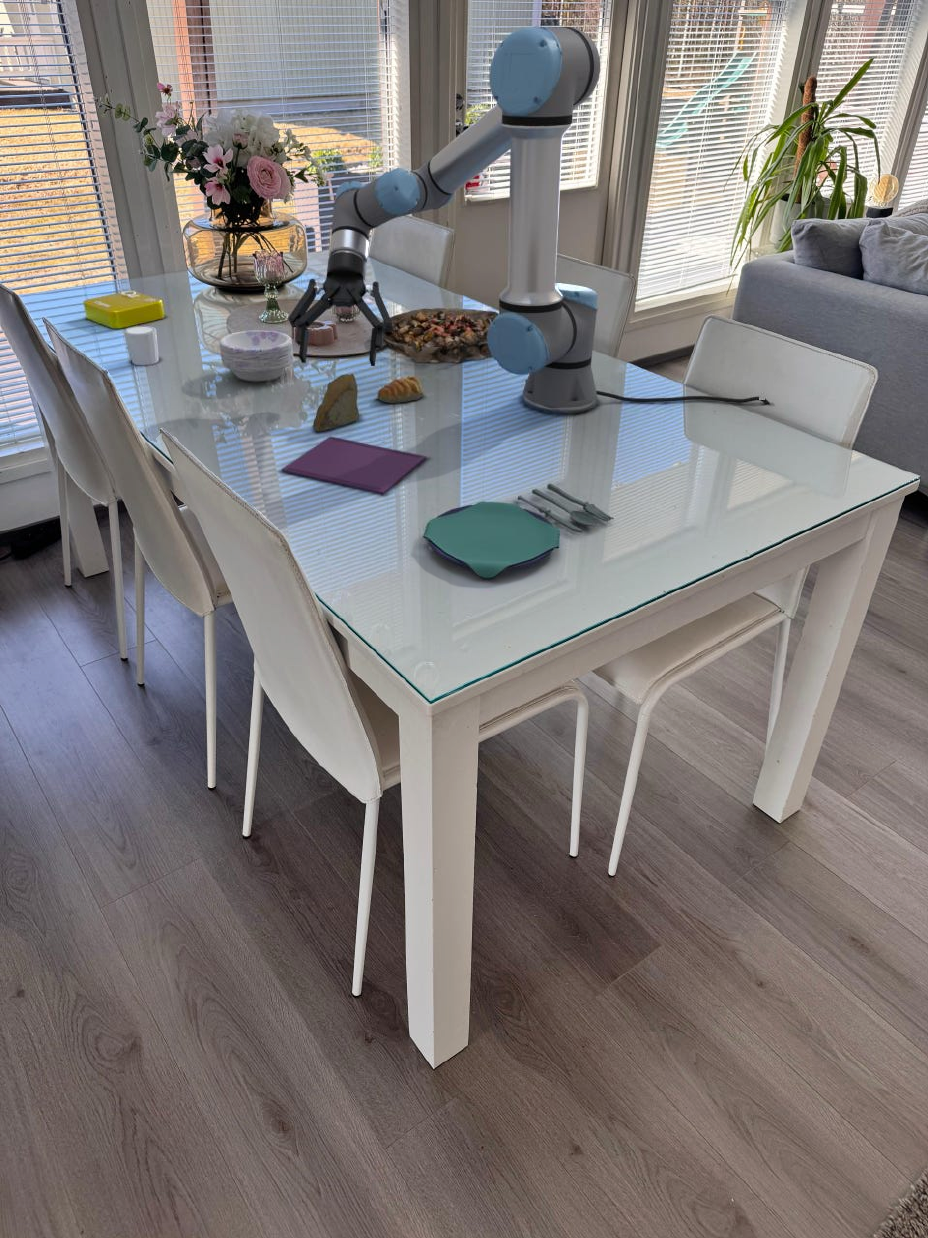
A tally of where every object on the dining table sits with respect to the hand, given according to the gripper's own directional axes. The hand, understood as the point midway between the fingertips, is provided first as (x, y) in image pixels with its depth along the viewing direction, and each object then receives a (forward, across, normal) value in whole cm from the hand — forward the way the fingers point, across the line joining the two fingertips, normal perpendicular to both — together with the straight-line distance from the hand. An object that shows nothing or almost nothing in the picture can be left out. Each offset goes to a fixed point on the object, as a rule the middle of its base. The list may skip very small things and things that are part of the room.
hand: (337, 361), depth 171 cm
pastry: (0, -11, -14) cm, 18 cm away
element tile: (-32, +67, -48) cm, 88 cm away
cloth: (+24, -7, +10) cm, 27 cm away
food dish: (-27, -17, -42) cm, 53 cm away
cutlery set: (+40, -37, +25) cm, 60 cm away
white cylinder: (-10, +49, -26) cm, 57 cm away
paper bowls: (-6, +22, -21) cm, 31 cm away
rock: (+11, 0, -4) cm, 12 cm away
